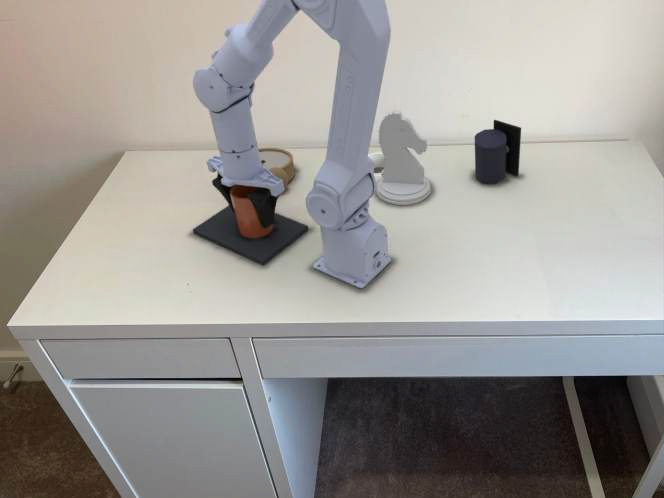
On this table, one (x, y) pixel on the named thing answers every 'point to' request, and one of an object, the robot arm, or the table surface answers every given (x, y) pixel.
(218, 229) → the drain mat
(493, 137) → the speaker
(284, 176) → the alarm clock
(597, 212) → the table surface
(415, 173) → the chess piece
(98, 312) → the table surface
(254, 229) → the cup
